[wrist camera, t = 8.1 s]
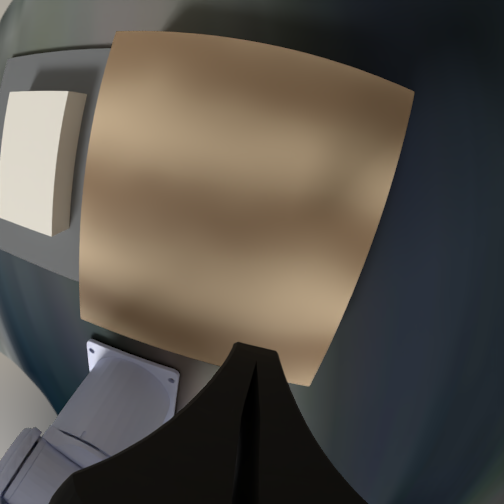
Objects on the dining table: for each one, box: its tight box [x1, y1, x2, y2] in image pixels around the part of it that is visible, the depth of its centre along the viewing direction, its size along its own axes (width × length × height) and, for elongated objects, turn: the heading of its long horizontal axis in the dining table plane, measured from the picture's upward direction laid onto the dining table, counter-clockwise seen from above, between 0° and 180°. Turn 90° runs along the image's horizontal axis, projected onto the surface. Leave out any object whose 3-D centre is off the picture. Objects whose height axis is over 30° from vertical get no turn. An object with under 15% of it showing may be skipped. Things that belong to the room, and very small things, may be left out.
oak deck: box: [79, 31, 415, 386], centre depth 15 cm, size 16×14×4 cm
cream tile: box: [0, 91, 87, 237], centre depth 16 cm, size 9×6×2 cm, turn 166°
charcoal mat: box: [0, 48, 111, 282], centre depth 17 cm, size 16×13×1 cm
